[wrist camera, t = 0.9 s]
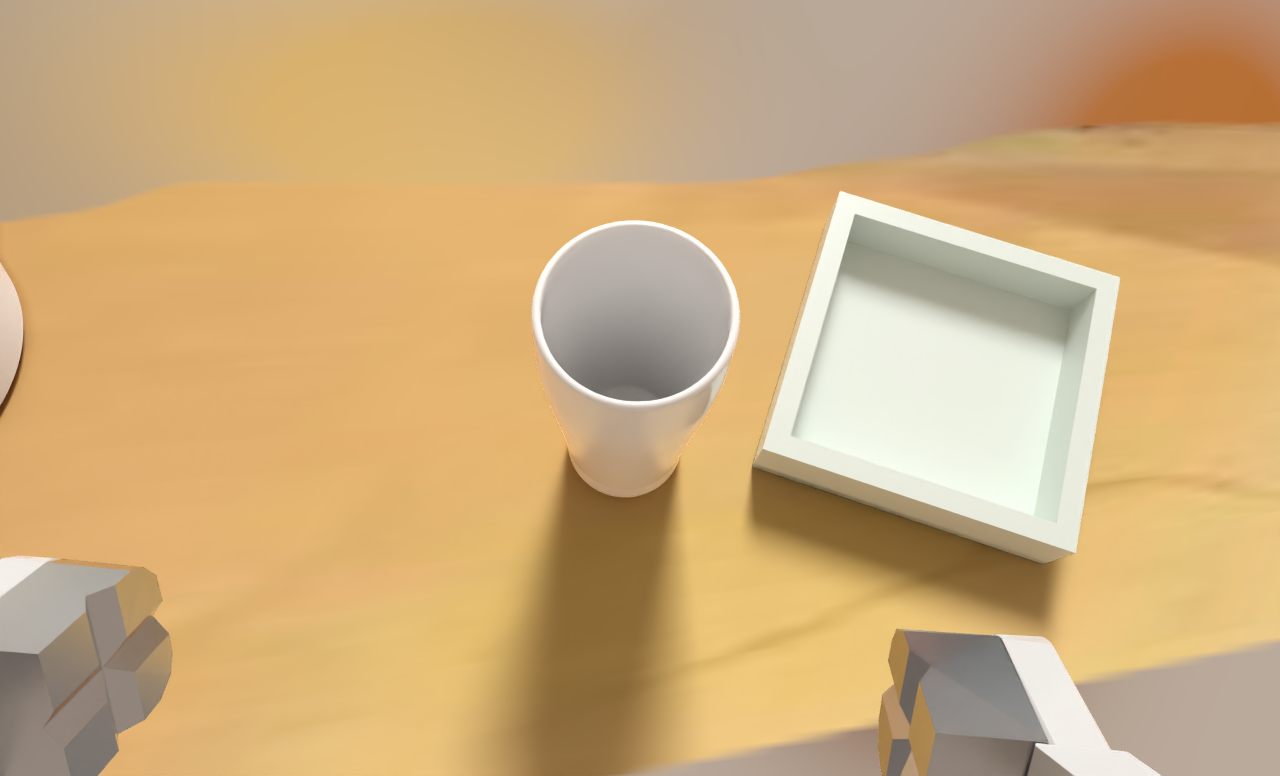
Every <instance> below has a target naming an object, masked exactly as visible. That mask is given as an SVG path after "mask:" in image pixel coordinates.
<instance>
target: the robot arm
mask: <svg viewBox="0 0 1280 776" xmlns="http://www.w3.org/2000/svg"><path fill="white" fill-rule="evenodd" d="M22 343H23V316H22V310H21V305H20V301H19V298H18V295H17V292H16V290H15V287H14V285H13V283H12V281H11V279H10V278H9V276H8V274H7V273H6V271H5V270H4V268H3V266H2V265H1V263H0V405H1V403H2V401H3V400H4V398H5V396H6V394H7V392H8V390H9V388H10V386H11V383H12V381H13V379H14V376H15V373H16V370H17V367H18V364H19V360H20V355H21V350H22ZM162 601H163V600H162V596H161V592H160V588H159V584H158V580H157V576H156V575H155V574H154V573H152V572H151V571H149V570H148V569H146V568H144V567H136V566H127V565H117V564H107V563H98V562H88V561H78V560H68V559H55V558H46V557H34V556H21V555H20V556H14V557H7V558H3V559H1V560H0V776H98V775H99V773H100V772H101V771H102V770H103V769H104V768H105V766H106V765H107V764H108V763H109V762H110V760H111V759H112V758H113V757H114V756H115V755H116V753H117V752H118V751H119V747H118V734H119V733H121V732H123V731H124V730H126V729H128V728H130V727H132V726H134V725H136V724H138V723H140V722H141V721H143V720H145V719H146V718H147V716H148V715H149V714H150V713H151V711H152V710H153V709H154V708H155V706H156V705H157V704H158V703H159V701H160V700H161V698H162V695H163V693H164V690H165V688H166V685H167V683H168V680H169V677H170V675H171V666H172V647H171V641H170V636H169V633H168V632H167V631H166V630H165V629H164V628H163V627H162V626H161V625H160V623H159V622H158V621H157V620H156V619H155V618H154V617H153V615H154V613H155V611H156V610H157V608H158V607H159V605H160V604H161V602H162ZM888 662H889V666H890V669H891V673H892V677H893V681H894V685H893V686H891V687H890V688H889V689H888V690H887V691H886V692H885V693H884V694H883V695H882V700H881V707H880V715H879V728H878V731H879V732H878V751H879V760H880V769H881V773H882V776H1161V775H1159V774H1158V773H1157V772H1155V771H1154V770H1152V769H1151V768H1149V767H1148V766H1147V765H1145V764H1144V763H1142V762H1141V761H1140V760H1138V759H1137V758H1135V757H1134V756H1132V755H1131V754H1129V753H1128V752H1125V751H1115V750H1111V749H1110V747H1109V745H1108V744H1107V742H1106V740H1105V738H1104V737H1103V735H1102V733H1101V731H1100V729H1099V728H1098V726H1097V724H1096V722H1095V720H1094V719H1093V717H1092V715H1091V713H1090V712H1089V710H1088V708H1087V706H1086V704H1085V702H1084V701H1083V699H1082V697H1081V695H1080V694H1079V692H1078V690H1077V688H1076V686H1075V684H1074V683H1073V681H1072V679H1071V677H1070V676H1069V674H1068V672H1067V670H1066V668H1065V667H1064V665H1063V663H1062V661H1061V659H1060V658H1059V656H1058V654H1057V652H1056V650H1055V649H1054V647H1053V645H1052V643H1051V642H1050V641H1048V640H1047V639H1045V638H1044V637H1040V636H1020V635H1000V634H994V635H979V634H964V633H950V632H936V631H922V630H908V629H896V631H895V634H894V637H893V639H892V643H891V648H890V653H889V659H888Z"/></svg>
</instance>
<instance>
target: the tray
mask: <svg viewBox="0 0 1280 776" xmlns="http://www.w3.org/2000/svg"><path fill="white" fill-rule="evenodd" d="M1119 282H1120V277H1117V276H1114V275H1111V274H1107V273H1104V272H1101V271H1098V270H1094V269H1091V268H1088V267H1085V266H1082V265H1078V264H1075V263H1072V262H1069V261H1065V260H1062V259H1059V258H1056V257H1052V256H1049V255H1046V254H1043V253H1039V252H1036V251H1033V250H1030V249H1026V248H1023V247H1020V246H1017V245H1013V244H1010V243H1007V242H1004V241H1001V240H997V239H994V238H991V237H988V236H984V235H981V234H978V233H975V232H971V231H968V230H965V229H962V228H958V227H955V226H952V225H949V224H945V223H942V222H939V221H936V220H932V219H929V218H926V217H923V216H920V215H916V214H913V213H910V212H907V211H903V210H900V209H897V208H894V207H890V206H887V205H884V204H881V203H877V202H874V201H871V200H868V199H864V198H861V197H858V196H855V195H851V194H848V193H845V192H842V191H840V192H839V195H838V197H837V199H836V201H835V203H834V206H833V208H832V210H831V212H830V214H829V217H828V219H827V221H826V223H825V227H824V230H823V233H822V237H821V240H820V243H819V246H818V250H817V253H816V256H815V260H814V263H813V266H812V270H811V273H810V276H809V279H808V283H807V286H806V289H805V293H804V296H803V299H802V303H801V306H800V309H799V313H798V316H797V319H796V322H795V326H794V329H793V332H792V336H791V339H790V342H789V346H788V349H787V352H786V355H785V359H784V362H783V365H782V369H781V372H780V375H779V379H778V382H777V385H776V388H775V392H774V395H773V398H772V402H771V405H770V408H769V412H768V415H767V418H766V422H765V425H764V428H763V431H762V435H761V438H760V441H759V445H758V448H757V451H756V455H755V458H754V461H753V464H752V467H754V468H757V469H760V470H763V471H766V472H769V473H772V474H775V475H778V476H781V477H784V478H787V479H790V480H793V481H796V482H799V483H802V484H805V485H808V486H811V487H814V488H817V489H820V490H823V491H826V492H829V493H832V494H835V495H838V496H841V497H844V498H847V499H850V500H853V501H856V502H859V503H862V504H865V505H868V506H871V507H874V508H877V509H880V510H883V511H886V512H889V513H892V514H895V515H898V516H901V517H904V518H907V519H910V520H913V521H916V522H919V523H922V524H925V525H928V526H931V527H934V528H936V529H939V530H942V531H945V532H948V533H951V534H954V535H957V536H960V537H963V538H966V539H969V540H972V541H975V542H978V543H981V544H984V545H987V546H990V547H993V548H996V549H999V550H1002V551H1005V552H1008V553H1011V554H1014V555H1017V556H1020V557H1023V558H1026V559H1029V560H1032V561H1035V562H1038V563H1041V564H1045V563H1048V562H1051V561H1054V560H1057V559H1060V558H1063V557H1066V556H1069V555H1072V554H1075V553H1076V548H1077V542H1078V536H1079V530H1080V523H1081V517H1082V511H1083V505H1084V499H1085V492H1086V486H1087V480H1088V474H1089V468H1090V462H1091V455H1092V449H1093V443H1094V437H1095V431H1096V424H1097V418H1098V412H1099V406H1100V400H1101V394H1102V387H1103V381H1104V375H1105V369H1106V363H1107V356H1108V350H1109V344H1110V338H1111V332H1112V325H1113V319H1114V313H1115V307H1116V301H1117V295H1118V288H1119Z"/></svg>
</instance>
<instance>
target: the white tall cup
mask: <svg viewBox="0 0 1280 776" xmlns="http://www.w3.org/2000/svg"><path fill="white" fill-rule="evenodd" d="M531 321H532V336H533V346H534V354H535V361H536V366H537V370H538V374H539V378H540V382H541V385H542V388H543V391H544V394H545V397H546V399H547V401H548V404H549V406H550V408H551V410H552V412H553V415H554V417H555V419H556V421H557V423H558V426H559V428H560V430H561V432H562V435H563V437H564V439H565V441H566V444H567V446H568V452H569V456H570V459H571V462H572V464H573V466H574V468H575V470H576V471H577V473H578V474H579V476H580V477H581V478H582V479H583V480H584V481H585V482H586V483H587V484H588V485H590V486H591V487H592V488H594V489H596V490H597V491H599V492H601V493H604V494H607V495H610V496H614V497H624V498H626V497H636V496H640V495H644V494H646V493H649V492H651V491H653V490H655V489H656V488H658V487H659V486H661V485H662V484H663V483H664V482H665V481H666V480H667V479H668V478H669V477H670V476H671V474H672V473H673V472H674V470H675V468H676V466H677V464H678V462H679V459H680V456H681V455H682V453H683V451H684V450H685V448H686V447H687V445H688V444H689V442H690V441H691V440H692V438H693V437H694V435H695V434H696V432H697V431H698V429H699V428H700V426H701V425H702V424H703V422H704V421H705V419H706V418H707V416H708V414H709V413H710V411H711V410H712V408H713V406H714V404H715V403H716V401H717V399H718V397H719V395H720V392H721V390H722V388H723V386H724V383H725V381H726V378H727V375H728V372H729V369H730V366H731V363H732V359H733V355H734V351H735V346H736V343H737V339H738V334H739V327H740V309H739V302H738V297H737V293H736V290H735V287H734V285H733V282H732V280H731V278H730V276H729V274H728V272H727V271H726V269H725V267H724V266H723V265H722V263H721V262H720V261H719V259H718V258H717V257H716V256H715V255H714V254H713V253H712V252H711V251H710V250H709V249H708V248H707V247H706V246H705V245H703V244H702V243H701V242H699V241H698V240H696V239H695V238H693V237H692V236H690V235H688V234H686V233H685V232H683V231H680V230H678V229H676V228H673V227H670V226H667V225H663V224H659V223H655V222H648V221H620V222H614V223H609V224H605V225H601V226H598V227H595V228H593V229H590V230H588V231H586V232H584V233H582V234H580V235H578V236H577V237H575V238H574V239H572V240H571V241H569V242H568V243H567V244H565V245H564V246H563V247H562V248H561V249H560V250H559V251H558V252H557V253H556V254H555V255H554V256H553V257H552V258H551V260H550V261H549V263H548V264H547V265H546V267H545V269H544V270H543V272H542V274H541V276H540V278H539V280H538V282H537V285H536V288H535V291H534V296H533V301H532V310H531Z"/></svg>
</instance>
